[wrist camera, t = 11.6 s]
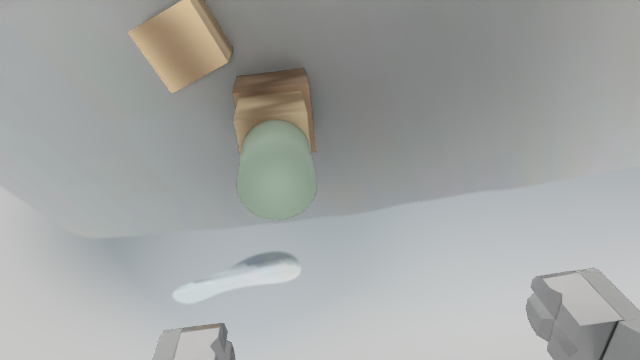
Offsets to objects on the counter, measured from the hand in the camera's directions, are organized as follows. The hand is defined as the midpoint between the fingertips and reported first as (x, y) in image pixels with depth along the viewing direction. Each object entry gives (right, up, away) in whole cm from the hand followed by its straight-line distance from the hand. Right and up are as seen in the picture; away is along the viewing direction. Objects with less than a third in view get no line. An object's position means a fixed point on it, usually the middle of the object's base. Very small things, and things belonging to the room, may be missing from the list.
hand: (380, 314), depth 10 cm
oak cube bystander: (-12, +16, +22) cm, 30 cm away
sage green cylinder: (-5, +6, +17) cm, 19 cm away
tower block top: (-5, +8, +22) cm, 24 cm away
